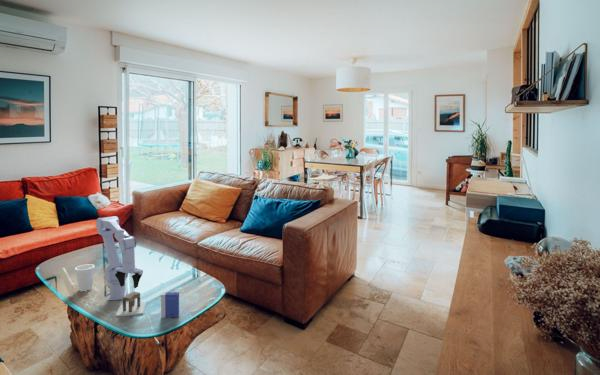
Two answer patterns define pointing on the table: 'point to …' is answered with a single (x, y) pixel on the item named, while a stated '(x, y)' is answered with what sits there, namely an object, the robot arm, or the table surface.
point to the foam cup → (85, 276)
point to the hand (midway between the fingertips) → (129, 286)
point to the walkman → (169, 304)
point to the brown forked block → (131, 300)
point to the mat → (135, 309)
